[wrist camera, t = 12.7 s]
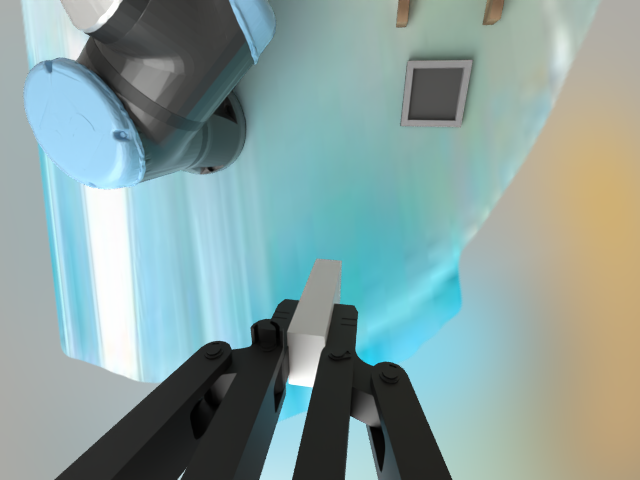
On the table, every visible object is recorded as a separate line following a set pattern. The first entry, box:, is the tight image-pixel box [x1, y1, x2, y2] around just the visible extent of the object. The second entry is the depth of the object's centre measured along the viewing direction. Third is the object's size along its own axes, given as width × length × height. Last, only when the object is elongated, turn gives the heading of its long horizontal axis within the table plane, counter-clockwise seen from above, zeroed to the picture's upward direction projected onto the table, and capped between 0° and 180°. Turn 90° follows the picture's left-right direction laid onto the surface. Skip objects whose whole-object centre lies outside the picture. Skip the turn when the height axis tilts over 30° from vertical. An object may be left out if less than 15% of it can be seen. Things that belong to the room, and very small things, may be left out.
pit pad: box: [400, 60, 473, 127], centre depth 41 cm, size 8×8×1 cm
